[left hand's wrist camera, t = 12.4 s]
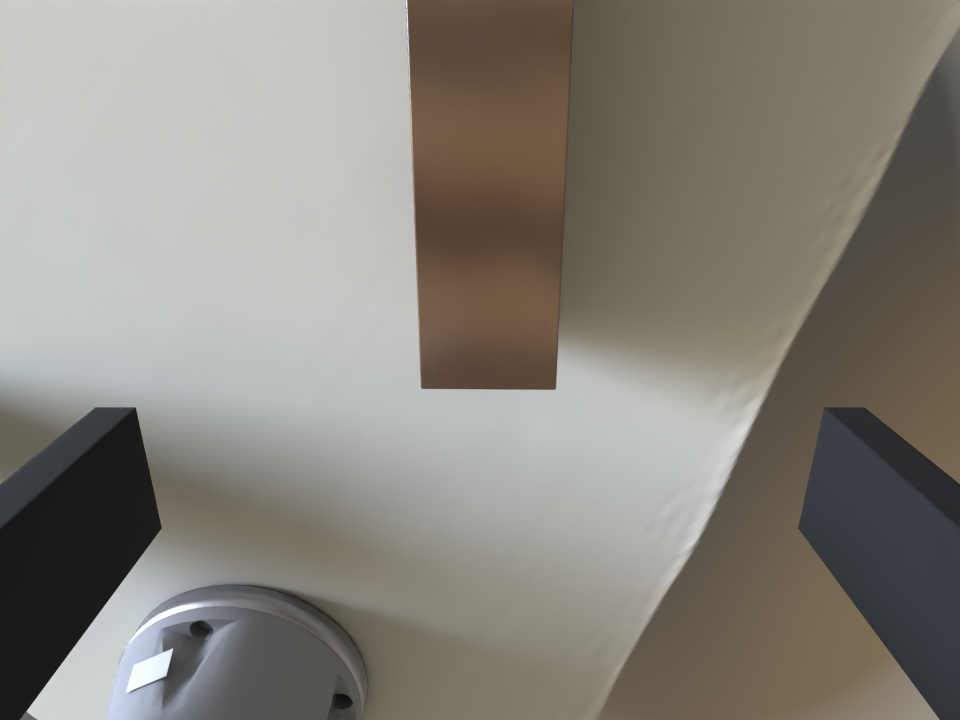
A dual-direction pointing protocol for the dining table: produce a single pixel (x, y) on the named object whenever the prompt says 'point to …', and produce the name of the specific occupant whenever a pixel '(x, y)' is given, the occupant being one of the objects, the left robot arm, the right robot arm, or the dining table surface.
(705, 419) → the dining table surface
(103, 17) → the dining table surface
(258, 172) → the dining table surface
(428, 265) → the post
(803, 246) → the dining table surface
